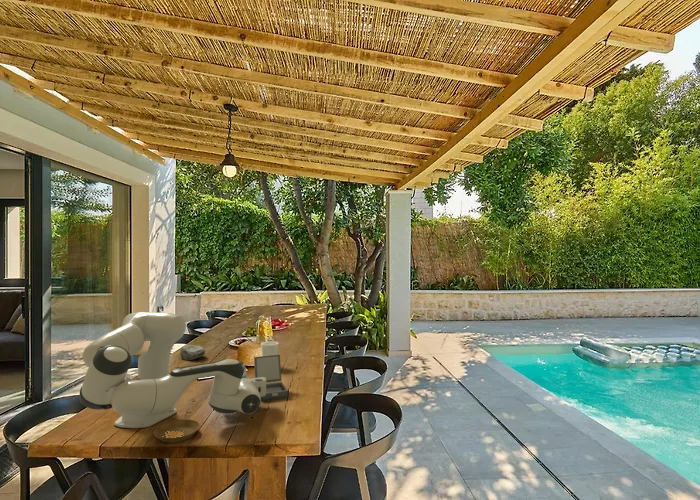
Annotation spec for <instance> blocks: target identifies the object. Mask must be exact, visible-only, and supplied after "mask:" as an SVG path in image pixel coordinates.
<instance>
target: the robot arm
mask: <svg viewBox="0 0 700 500" xmlns="http://www.w3.org/2000/svg"><path fill="white" fill-rule="evenodd" d="M186 328H187V324H186V321H185V319H184V317H182V316H181V315H178V314H176V313H172V312H154V311H153V312H152V311H149V312H148V311H137V312H132V313H129V314H127V315H126V316H125V317H124V318H123V320H122V323H121V325H120V326H119V327H117V328H114V329H113V330H111V331H109V332H107V333H105V334H103V335H101V336H99V337H98V338H96V339H95V340H93V341H92V342H91V343H89V344H88V345H87V346H85V348H84V350H83V352H82V362H83V363H84V365H85V366H86V367H87V369H86V370H87V371H86V373H85V375H84V376H85V377H84V378H83V379H84V380H83V383H82V386H81V387H80V390H79V395H78V396H79V402H80V404H81V405H82V406H84V407H85V408H87V409H91V410H98V411H99V410H109V409H113V411H114V412H115V413H117V414H121V416H120V417H118V418H117V419H116V420H115V421H114V424H113V425H114V426H116V427H119V428H125V429H126V428H127V429H140V428H141V429H143V428H149V427H151V426H153V425H155V424H157V423H158V422H161V421H162V420H164V419H167V418H168V417H170V416H172V415H174V414H176V413H177V412H178V411H177V408H175V406H176V404H177V403H178V402H179V401H180V398H181V397H182V396H183V394H184V392H185V391H186V389H187V388H188V386H189V385H190V384H191V383H193V382H194V381H195V380H198V379H202V378H203V379H204V378H208V377H213V382H212V385H211V389H210V393H209V398H208V405H209V406H210V408H211V409H212V410H213V411H214V412H216V413H219V414H227V415H228V414H229V415H230V414H235V413H238V412H240V413H242V414H244V415H252V414H253V413H255V412H256V411H258V409H259V408H260V406H261V402H262V401H261V397H263V396H265V395H266V384H267V383H266V378H265V377H259V378H255V377H253V378H252V377H251V378H250V377H246V378H242V376H243V373H244V368H243V366H242V364H241V363H240V362H239V361H240V360H237V359H235V358H234V359H232V358H229V359H227V358H225V359H221V360H218V361H214V362H206V363H201V364H193V365H187V366H181V367H177V368H174V369H172V370H171V371H170V356H171V352H172V349H173V347H174V345H175V344H176V342H178V341H179V340H180V339H181V338H182V337H183V336H184V335H185V332H186ZM145 342H149V345H148V348H147V350H145V351H143V352H142V353H141V354H140V355H139V357H138V358H137V360H138V361H137V377H136V379H132V378H129V377H127V373H128V371H129V370H130V367H131V364H132V363H131V362H132V356H134V355H135V354H137V353H139V352H140V351H141V350H142V349H143V347H144V344H145Z"/></svg>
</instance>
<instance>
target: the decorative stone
mask: <svg viewBox="0 0 700 500" xmlns="http://www.w3.org/2000/svg"><path fill="white" fill-rule="evenodd" d="M204 356H206V349H205V348H204V347H203V346H202V345H193V344H185V345H183V346H182V347H181V349H180V357H181V359H182V360H184V361H191V360H195V359H199V358H202V357H204Z"/></svg>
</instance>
